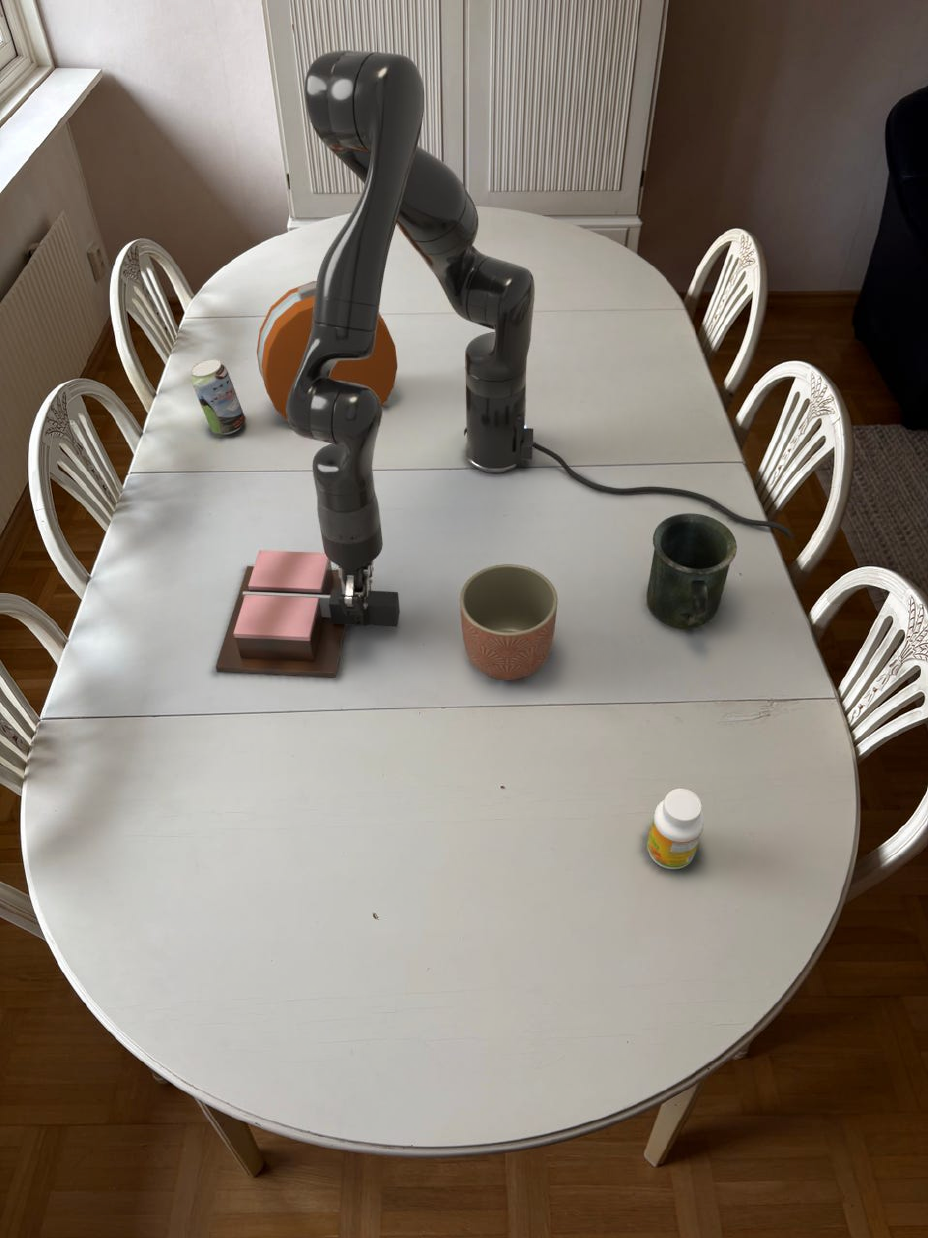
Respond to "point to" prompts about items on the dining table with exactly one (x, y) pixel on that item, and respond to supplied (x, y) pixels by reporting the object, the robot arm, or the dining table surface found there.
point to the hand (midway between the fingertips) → (362, 614)
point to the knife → (379, 611)
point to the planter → (508, 620)
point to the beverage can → (217, 396)
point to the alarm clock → (289, 339)
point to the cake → (284, 619)
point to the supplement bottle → (676, 829)
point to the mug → (689, 569)
